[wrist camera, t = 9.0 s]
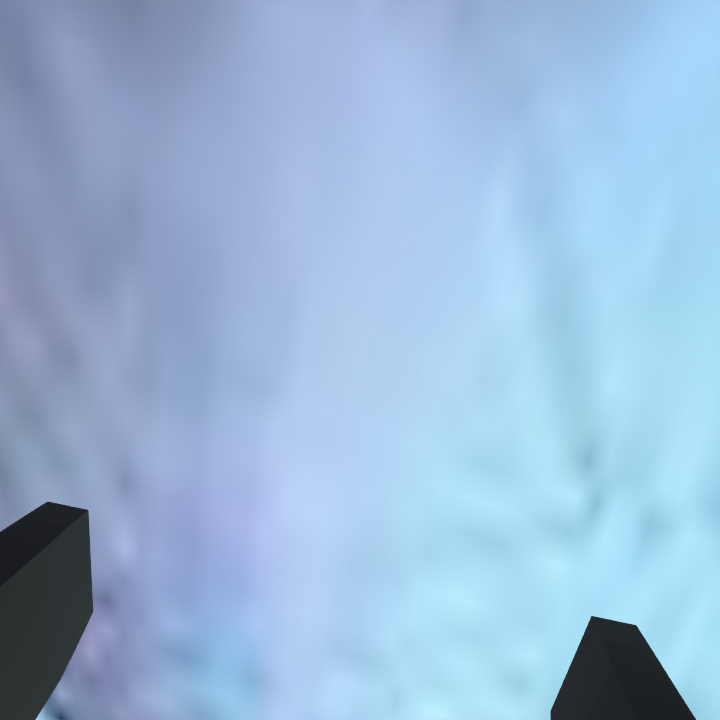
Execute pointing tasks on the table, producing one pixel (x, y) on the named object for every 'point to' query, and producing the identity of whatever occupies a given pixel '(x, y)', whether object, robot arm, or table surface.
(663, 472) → the table surface
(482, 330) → the table surface
